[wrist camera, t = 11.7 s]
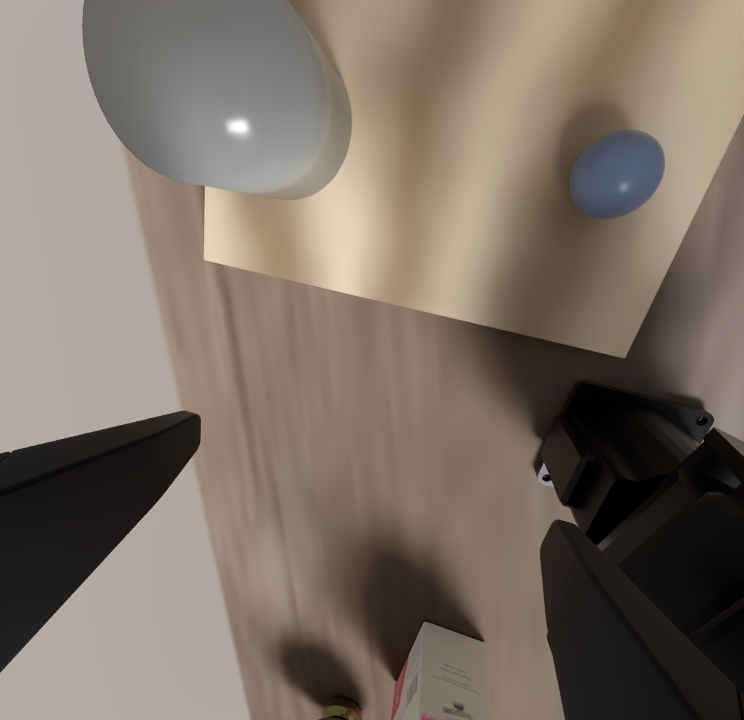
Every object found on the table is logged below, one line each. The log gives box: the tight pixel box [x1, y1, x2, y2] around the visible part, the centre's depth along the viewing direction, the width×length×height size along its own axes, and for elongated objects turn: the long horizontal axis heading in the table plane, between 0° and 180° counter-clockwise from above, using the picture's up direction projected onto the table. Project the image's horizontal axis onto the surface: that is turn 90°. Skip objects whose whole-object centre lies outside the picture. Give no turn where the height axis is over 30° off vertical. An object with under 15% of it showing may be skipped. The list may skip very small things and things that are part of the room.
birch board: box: [204, 0, 744, 358], centre depth 15 cm, size 22×22×1 cm
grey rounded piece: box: [82, 0, 352, 200], centre depth 13 cm, size 6×6×7 cm
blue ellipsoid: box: [569, 129, 665, 219], centre depth 14 cm, size 3×3×3 cm
